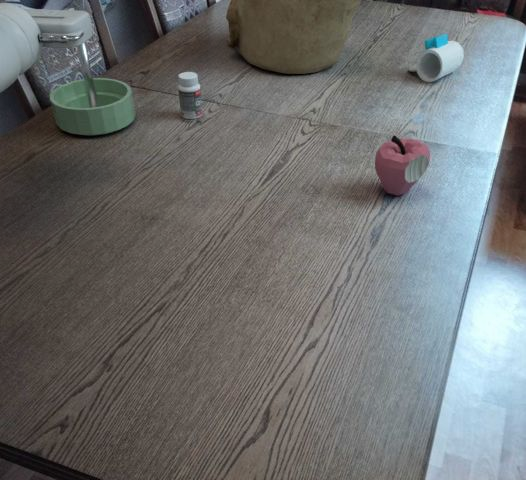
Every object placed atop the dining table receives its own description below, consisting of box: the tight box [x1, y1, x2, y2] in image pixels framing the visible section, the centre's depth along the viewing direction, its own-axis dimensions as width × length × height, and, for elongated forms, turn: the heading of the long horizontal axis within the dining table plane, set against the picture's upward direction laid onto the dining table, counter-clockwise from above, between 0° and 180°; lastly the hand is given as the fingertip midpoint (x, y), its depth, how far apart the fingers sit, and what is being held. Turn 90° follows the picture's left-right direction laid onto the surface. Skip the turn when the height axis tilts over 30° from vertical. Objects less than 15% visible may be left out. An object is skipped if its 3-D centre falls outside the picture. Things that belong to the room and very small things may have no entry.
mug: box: [408, 33, 465, 83], centre depth 137 cm, size 12×9×12 cm
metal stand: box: [76, 42, 102, 108], centre depth 113 cm, size 6×6×16 cm
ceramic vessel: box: [225, 0, 363, 75], centre depth 139 cm, size 29×42×25 cm
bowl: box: [49, 77, 136, 136], centre depth 117 cm, size 17×17×6 cm
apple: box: [374, 135, 431, 197], centre depth 96 cm, size 10×9×10 cm
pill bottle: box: [177, 71, 203, 120], centre depth 118 cm, size 5×5×8 cm
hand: (44, 12), depth 93 cm, fingers open, 8 cm apart
